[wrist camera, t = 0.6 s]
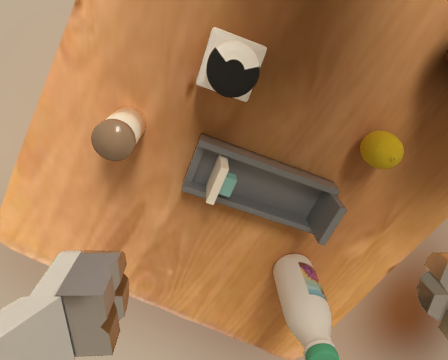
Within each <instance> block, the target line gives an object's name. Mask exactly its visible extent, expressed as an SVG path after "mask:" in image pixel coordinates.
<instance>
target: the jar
mask: <svg viewBox="0 0 448 360" xmlns="http://www.w3.org/2000/svg"><path fill="white" fill-rule="evenodd" d="M145 128H146V121H145V118H144V116H143V114H142V113H141V112H140V111H139V110H137V109H136V108H134V107H130V106H124V107H121V108H119V109H117V110H116V111H115V112H114V113H113V114H111V115H110V116H109V117H108V118H107V119H106V120H104V121H102V122H101V123H100V124H98V125H97V126H96V127H95V128H94V130H93V132H92V136H91V141H92V145H93V147H94V149H95V151H96V152H97V153H98V154H99V155H100V156H102V157H103V158H105V159H107V160H111V161H120V160H123V159H125V158H127V157H128V156H129V155H130V154H131V153H132V151H133V149H134V147H135V145H136V143H137V142H138V140H139V139H140V137H141V136H142V134H143V133H144V131H145Z"/></svg>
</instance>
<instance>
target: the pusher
mask: <svg viewBox="0 0 448 360" xmlns="http://www.w3.org/2000/svg"><path fill="white" fill-rule="evenodd" d="M228 171H229V166H228V157H227V156H224V155H221V154H219V155H218V158H217V160H216V162H215V165H214V167H213V170H212V172H211V175H210V177H209V179H208V182H207V185H206V203H208V204H211V205H214V203H215V201H216V198H217V196H218V194H221V195H224V196H227V197H230V195H231V193H232V191H233V189H234V186H235V184H236V182H237V177H236V175H235V174H232V173H229V172H228Z"/></svg>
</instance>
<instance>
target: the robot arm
mask: <svg viewBox="0 0 448 360" xmlns="http://www.w3.org/2000/svg"><path fill="white" fill-rule="evenodd" d="M126 265H127V264H126V257H125V253H124V252H123V251H90V250H84V251H82V250H64V251H62V252H60V253H59V254H58V255H57V257H56V258H55V259H54V261H53V262H52V264H51V265H50V267H49V268H48V270H47V271H46V272H45V274H44V275H43V277H42V278H41V280H40V281H39V282H38V284H37V285H36V287H35V288H34V290H33V291H32V292H31V294H30V295H29V297H21V298H19V299H17V300H16V301H14V302H12V303H10V304H9V305H7V306H5V307H4V308H2V309H0V360H74V359H75V357H78V356H103V355H113V352H114V348H115V345H116V342H117V339H118V335H119V332H120V327H119V320H120V319H121V318H122V317H124V315H125V312H126V309H127V304H128V297H129V281H128V278H127V277H126V275H125V274H124V271H125V268H126ZM425 267H426V269H427V272H426V273H425V274H424V275H423V276H421V277H420V279H419V282H418V285H417V294H418V299H419V301H420V304H421V306H422V307H423V308H424V310H425V311H426V313H427V314H429V315H430V316H432V317H434V318H435V319H437V320H438V328H439V329H440V331H441V332H442V333H443V334H444V335H445V337H446V338H447V339H448V253H431V254H430V255H429V256H428V257H427V260H426V262H425Z"/></svg>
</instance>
